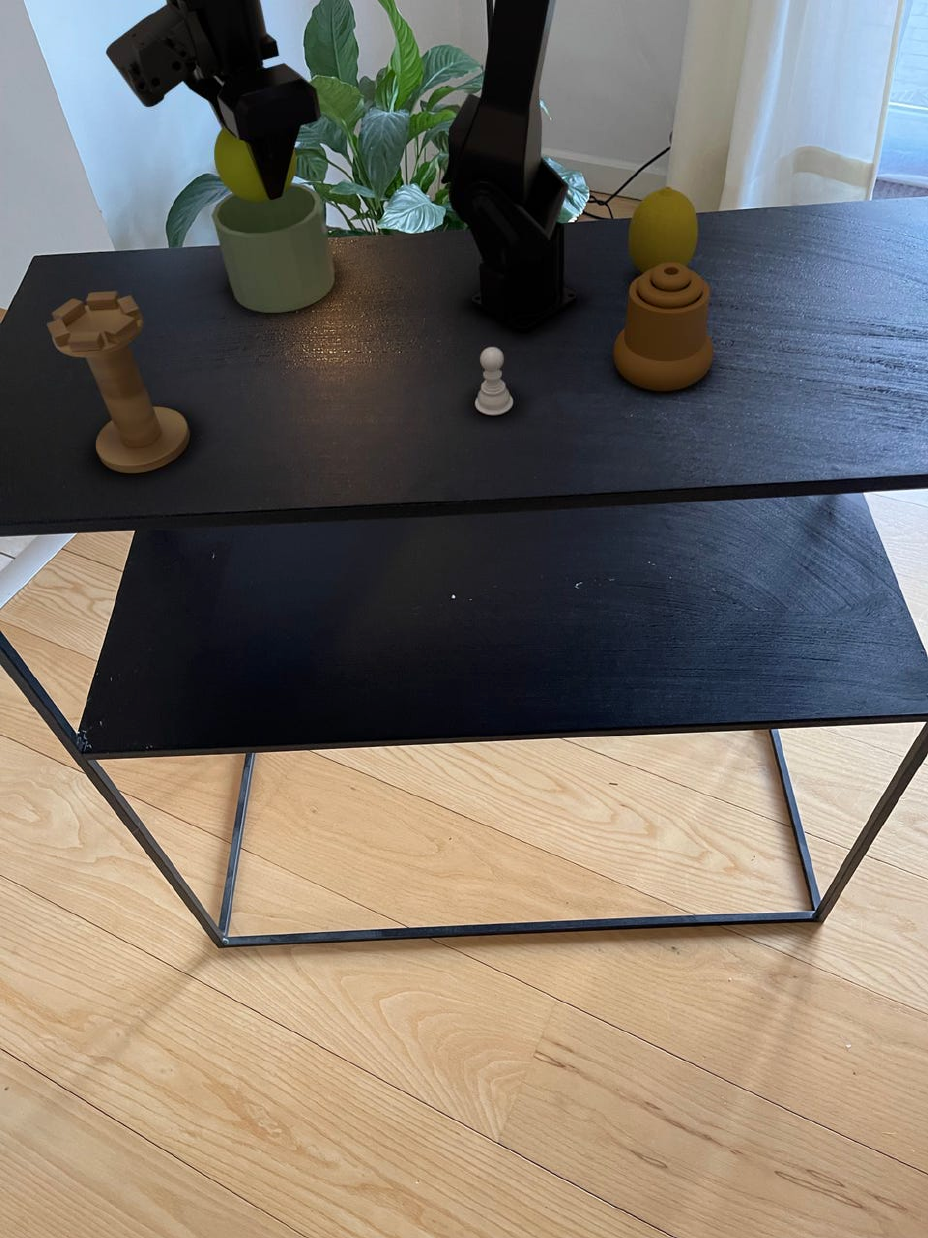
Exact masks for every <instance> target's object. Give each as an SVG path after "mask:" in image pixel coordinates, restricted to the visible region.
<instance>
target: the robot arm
mask: <svg viewBox="0 0 928 1238" xmlns="http://www.w3.org/2000/svg"><path fill="white" fill-rule="evenodd" d="M556 1H557V0H494V2H493V3H494V5H493V11H492V17H491V25H490V32H489V38H488V43H487V44H488V45H487V51H486V58H485V65H484V72H483V79H482V85H481V92H480V96H478V95H475V94H473V93H471V92H469V93H468V94H467V95H466V97H465V99H464V101H463V102H462V105H460V108H459V110H458V111H457V113H456V115H455V117H454V118H453V120H452V122H451V124H450V126H449V127H448V136H447V151H448V160H447V161H448V163H447V167H446V169H445V171H444V174H443V175H442V177H441V179H440V183H441V185H445V184H449V187H448V202H449V205H450V209H451V210H452V211H453V212H455V213H456V215H457V216H458V217H459V219H460V220H461V221H462V222H463V223H464V224H465V225H466V226H467V227H468V228H469V231H470V233H471V235H472V238H473V240H474V243H475V245H476V247H477V249H478V252H479V254H480V257H481V261H480V262H479V264H478V273H479V287H480V291H479V293H477V294H475V295H473V296H472V297H471V305H473V306H474V307H476V308H477V309H479V310H480V311H482V312H484V313H486V314H488V315H490V316H491V317H494V318H495V319H497V320H498V321H501V323H504V324H506V325H508V326H510V327H511V328H513V329H515V330H516V331H519V332H522V333H527V332H528V331H531V330H532V329H533V328H535V327H537V326H538V325H540V324H542V323H544V322H545V321H547V320H548V319H550V318H551V317H553V316H555V315H557V314H558V313H560V312H562V311H563V310H565V309H567V308H569V307H570V306H572V305H573V304H575V303H576V302H578V294H577V293H576V292H574V291H572V290H571V289H568V288H566V287H565V285H564V284H565V223H562V222H560V221H558V219H559V216H560V214H561V211H562V208H563V205H564V203H565V200H566V197H567V194H568V192H569V189H570V185H569V184H568V183H567V182H566V181H565V179H564V178H563V177H562V176H561V175H560V174H559V173H558V172H557V171H556V170H555V169H554V168H553V167H552V166H551V165H550V164H549V162H547V161H546V160H545V158H543V156H542V146H543V145H542V143H543V142H542V141H543V119H542V109H541V99H540V87H541V86H540V84H541V80H542V74H543V70H544V63H545V58H546V54H547V49H548V44H549V39H550V33H551V27H552V22H553V17H554V12H555V8H556V7H555V6H556ZM165 2H166V3H165V5H164V6H162V7H160V8H159V9H157V10H155V12H152V13H150V14H148V15H147V16H145V17H144V18H142V19H141V20H139V22H137V23H136V24H135V25H133V26H132V27H131V28H129V29H128V30H126V31H125V32H124V33H123V34H122V35H120V36H118V38H116V39H114V40H113V42H111V43H110V44H109V46H108V47H107V48H106V49H105V54H106V56H107V57H108V59H109V60H110V62H111V63H112V65H113V66H114V67H115V69H116V70H117V72H118V73H119V75H120V76H121V77H122V79H123V80H124V82H125V83H126V84H127V86H128V87H129V88H130V90H131V91H132V93H133V94H134V95H135V97H136V98H138V100H139V101H140V102H141V104H142V105H143V106H144V107H145V108H152V107H155V106H157V105H159V104H160V103H161V102H162V101H163V100H164V99H165V96H166V95H167V94H168V93H170V92H171V91H172V90H174V89H175V88H176V87H178V86H179V85H180V84H181V83H183V84H184V85H185V86H186V87H187V88H188V89H189V90H190V91H192V92H193V93H195V94H196V95H198V96H200V97H201V98H203V99H204V100H206V101H207V102H208V105H209V107H210V108H211V110H212V112H213V115H214V116H215V118H216V120H217V122H218V124H219V126H220V129H222V128H223V127H225V128H226V129H227V130H228V131H229V133H230V134H231V135H233V136H234V137H236V138H238V139H239V140H243V141H245V143H246V146H247V148H248V151H249V153H250V156H251V158H252V161H253V163H254V166H255V168H256V171H257V173H258V176H259V178H260V181H261V183H262V185H263V188H264V190H265V192H266V195H267V197H268V198H269V199H270V200H274V199H278V198H280V197H282V195H283V191H284V187H285V183H286V179H287V175H288V170H289V166H290V162H291V158H292V155H293V150H294V149H295V147H296V143H297V140H298V137H299V134H300V132H301V131H300V130H301V127H303V126H304V125H308V124H312V123H315V122H318V121H319V120H320V119H321V117H322V111H321V106H320V102H319V96H318V95H319V94H318V89H317V88H316V87H315V86H314V85H313V84H311V83H310V82H309V81H308V80H307V79H306V78H305V77H304V76H303V75H301V74H300V73H299V72H298V71H297V70H295V69H294V68H292V67H291V66H289V65H288V64H286V63H285V62H283V63H279V64H275V65H272V66H268V67H265V66H264V61H265V60H269V59H273V58H277V57H280V52H279V47H278V42H277V40H276V39H275V38H274V37H272V35H270V34H269V33H268V32H267V27H266V22H265V18H264V17H265V16H264V13H263V7H262V2H261V0H165Z"/></svg>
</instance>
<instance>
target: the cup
mask: <svg viewBox="0 0 928 1238" xmlns="http://www.w3.org/2000/svg"><path fill="white" fill-rule="evenodd" d="M211 219H212V223H213V227H214V231H215V233H216V237H217V241H218V245H219V248H220V252H221V255H222V260H223V263H224V266H225V270H226V274H227V278H228V281H229V284H230V288H231V290H232V293H233V297H234V299H235V300H236V302H238V304H240V306H242V307H244V308H246V309H249V310H251V311H254V312H259V313H268V314H279V313H287V312H293V311H297V310H300V309H303V308H306V307H308V306H311V305H314V304H316V303H317V302H319V301H320V300H321V299H323V298H325V296H326V295H328V294H329V292H330V291H331V290H332V288H333V286H334V283H335V265H334V261H333V256H332V250H331V244H330V239H329V234H328V228H327V223H326V218H325V212H324V207H323V201H322V198H321V197H320V195H319V193H318V192H317V190H315V189H313V188H311V187H309V186H307V185H305V184H303V183H297V182H293V181H292V182H291V184H290V186H289V187H288V188H287V190H286V191H285V192H284V193H283V195H282V197H280V198H278V199H274V200H270V201H267V202H251V201H247V200H244V199H242V198H240V197H238V196H236V195H235V194H234V193H232V192H231V193H229V194H227V195H226V196H225V197H224V198H223V199H221V200H220V201H219V202H218V203H216V205H215V206H214V209H213V211H212V214H211Z"/></svg>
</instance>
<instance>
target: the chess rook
mask: <svg viewBox="0 0 928 1238" xmlns="http://www.w3.org/2000/svg"><path fill="white" fill-rule="evenodd" d="M85 302H86V304H87V305H86V304H84V301H82V300H79V299H76V298H74V297H72V298H71V299H69V300H68V301H67V302H65V303H63V304H62V305H61V306H59V307H58V308H57V309H55V310H54V311H53V312H51V315H52V317H53V320H52V321H50V322H47V323H46V326H47V328H48V330H49V332H50V335H51V338H52V342H53V344H54V346H55V348H56V349H57V350H58V351H59V352H60V353H62V354H64V355H67V356H70V357H76V358H85V359H86V362H87V364H88V366H89V369H90V371H91V374H92V376H93V378H94V380H95V383H96V385H97V388H98V389H99V390H98V391H99V392H100V395H101V397H102V399H103V401H104V404H105V407H106V409H107V411H108V413H109V415H110V418H111V420H110V421H109V422H108V423H106V424H105V425H104V427H103V428H102V429H100V431H99V433H98V435H97V437H96V440H95V449H96V453H97V455H98V457H99V459H100V461H101V462H102V464H104V465H105V466H106V467H107V468H109V469H110V470H112V471H115V472H118V473H123V474H139V473H147V472H150V471H154V470H157V469H160V468H162V467H164V466H166V465H168V464H170V463H172V462H173V461H174V460H176V459H177V458H178V457H180V455H181V454H182V453H183V452H184V451H185V449H186V448H187V446H188V445H189V442H190V437H191V431H190V428H189V425H188V423H187V421H186V418H184V416H183V415H182V414H181V413H180V412H178V411H176V410H175V409H172V408H169V407H163V406H153V403H152V401H151V399H150V395H149V393H148V390H147V388H146V386H145V383H144V380H143V378H142V375H141V373H140V369H139V367H138V365H137V362H136V358H135V357H134V353H133V352H132V350H131V346H130V344H131V343H132V342H134V341H135V340H136V339H137V338H138V336H140V334H141V333H142V332H143V331H142V330H143V328H144V325H145V324H144V323H145V322H144V318H143V314H142V312H141V310H140V308H139V305H138V304H137V303H136V301H135V299H134V298H133V297H132V295H131V294H130V295H126V296H123V297H121V296H120V294H119V292H118V290H112V291H98V292H97V291H96V292H94V291H93V292H89V293H88V295H87V297H86V300H85Z"/></svg>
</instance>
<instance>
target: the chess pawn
mask: <svg viewBox="0 0 928 1238" xmlns="http://www.w3.org/2000/svg"><path fill="white" fill-rule="evenodd" d="M479 362H480V365H481V367H482V368H483V369H484V370H483V372H482V375H483V378H484V379H485V380H484V382H482V383H481V385H480V390H478V393H477V397H476V398H475V402H474V405H475V408H476V409H477V411H479V412H480V413H482V414H484V415H486V416H500V415H502V414H505V413H507V412H508V411H509V410H511V409H512V407H513V405H514V399H513V397H512V396H511V393H510V391H509V389H508V388H507V387H506V382H504V381H503V380H502V379H501V377H502V376H503V372H502V370H501V369H502V366H503V365H504V362H505V356H504V354H503V351H501V349H500V348H498V347H496V346H488V347H487V348H485V349H484V350H482V351H481V354H480V355H479Z"/></svg>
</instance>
